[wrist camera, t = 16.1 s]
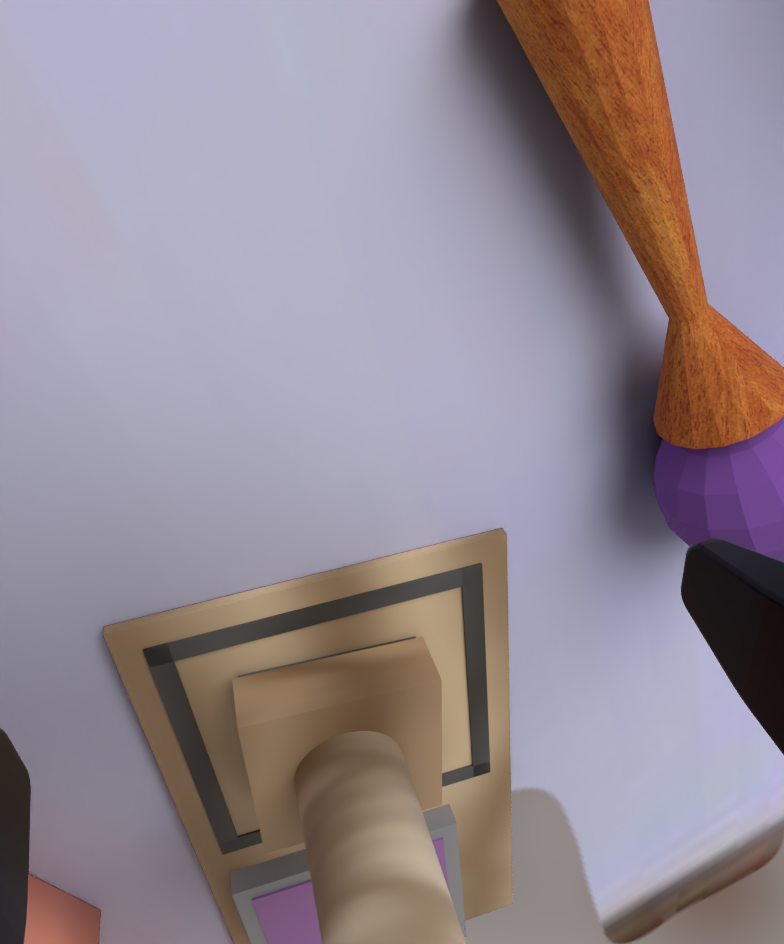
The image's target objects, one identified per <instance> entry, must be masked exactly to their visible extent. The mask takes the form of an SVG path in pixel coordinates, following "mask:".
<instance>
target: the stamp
mask: <svg viewBox="0 0 784 944" xmlns="http://www.w3.org/2000/svg"><path fill="white" fill-rule="evenodd" d="M232 682H233V692H234V701H235V711H236V721H237V729H238V734H239V738H240V743H241V747H242V752H243V756H244V761H245V765H246V770H247V774H248V779H249V783H250V788H251V793H252V797H253V802H254V806H255V811H256V815H257V820H258V824H259V829H260V833H261V838H262V842H263V847H264V851H265V853H269V852H273V851H276V850H280V849H284V848H287V847H291V846H294V845H298V844H302V843H305V847H306V853H307V859H308V865H309V870H310V876H311V882H312V888H313V893H314V899H315V905H316V911H317V916H318V922H319V928H320V934H321V939H322V944H466V941H465V938H464V935H463V932H462V929H461V926H460V923H459V920H458V917H457V914H456V911H455V908H454V905H453V902H452V899H451V896H450V893H449V890H448V887H447V884H446V881H445V878H444V875H443V872H442V869H441V866H440V863H439V860H438V857H437V854H436V851H435V848H434V845H433V842H432V839H431V836H430V833H429V830H428V827H427V824H426V821H425V818H424V815H423V812H422V810H426V809H429V808H433V807H437V806H440V805H442V680H441V677H440V675H439V673H438V670H437V668H436V666H435V663H434V661H433V659H432V657H431V654H430V652H429V650H428V647H427V645H426V643H425V641H424V638H423V637H419V638H416V636H414V637H410V638H405V639H401V640H396V641H392V642H387V643H383V644H378V645H374V646H369V647H365V648H360V649H356V650H351V651H347V652H342V653H338V654H333V655H329V656H324V657H320V658H315V659H311V660H306V661H302V662H297V663H293V664H288V665H284V666H279V667H274V668H270V669H265V670H261V671H256V672H252V673H247V674H243V675H238V678H234V679H232Z"/></svg>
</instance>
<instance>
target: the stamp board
mask: <svg viewBox="0 0 784 944" xmlns="http://www.w3.org/2000/svg"><path fill="white" fill-rule="evenodd" d="M103 636H104V639H105V641H106V644H107V646H108V648H109V651H110V653H111V655H112V658H113V660H114V662H115V665H116V667H117V669H118V672H119V674H120V676H121V679H122V681H123V683H124V686H125V688H126V691H127V693H128V695H129V698H130V700H131V702H132V705H133V707H134V709H135V712H136V714H137V716H138V719H139V721H140V723H141V726H142V728H143V731H144V733H145V735H146V738H147V740H148V742H149V745H150V747H151V749H152V752H153V754H154V756H155V759H156V761H157V763H158V766H159V768H160V771H161V773H162V775H163V778H164V780H165V782H166V785H167V787H168V789H169V792H170V794H171V796H172V799H173V801H174V803H175V806H176V808H177V810H178V813H179V815H180V818H181V820H182V822H183V825H184V827H185V829H186V832H187V834H188V836H189V839H190V841H191V843H192V846H193V848H194V850H195V853H196V855H197V858H198V860H199V862H200V865H201V867H202V869H203V872H204V874H205V876H206V879H207V881H208V883H209V886H210V888H211V890H212V893H213V895H214V898H215V900H216V902H217V905H218V907H219V909H220V912H221V914H222V916H223V919H224V921H225V923H226V926H227V928H228V930H229V933H230V935H231V937H232V940H233V942H234V944H251V941H250V939H249V936H248V934H247V931H246V929H245V926H244V924H243V921H242V919H241V916H240V914H239V911H238V909H237V906H236V904H235V901H234V899H233V896H232V889H231V876H230V872H233V871H236V870H239V869H243V868H246V867H249V866H252V865H255V864H259V863H262V862H265V861H268V860H271V859H274V858H278V857H281V856H284V855H287V854H290V853H294V852H297V851H300V850H303V849H306V847H305V843H302V844H298V845H294V846H291V847H287V848H284V849H280V850H276V851H273V852H269V853H265V851H264V847H263V842H262V838H261V833H260V829H259V824H258V820H257V815H256V811H255V806H254V802H253V797H252V793H251V788H250V783H249V779H248V774H247V770H246V765H245V761H244V756H243V752H242V747H241V743H240V738H239V734H238V729H237V721H236V711H235V701H234V692H233V682H232V679H234V678H238V675H243V674H247V673H252V672H256V671H261V670H265V669H270V668H274V667H279V666H284V665H288V664H293V663H297V662H302V661H306V660H311V659H315V658H320V657H324V656H329V655H333V654H338V653H342V652H347V651H351V650H356V649H360V648H365V647H369V646H374V645H378V644H383V643H387V642H392V641H396V640H401V639H405V638H410V637H414V636H416V638H419V637H423V638H424V641H425V643H426V645H427V647H428V650H429V652H430V654H431V657H432V659H433V661H434V663H435V666H436V668H437V670H438V673H439V675H440V677H441V680H442V805H440V806H443V805H446V804H450V807H451V809H452V812H453V815H454V817H455V820H456V823H457V833H458V844H459V856H460V868H461V880H462V892H463V904H464V916H465V920H468V919H471V918H474V917H477V916H479V915H482V914H485V913H488V912H491V911H494V910H497V909H499V908H503V907H505V906H508V905H511V904H513V900H512V843H511V841H512V840H511V839H512V836H511V773H510V710H509V647H508V585H507V534H506V532H505V531H504V530H503V528H500V529H496V530H492V531H488V532H484V533H480V534H476V535H472V536H468V537H464V538H460V539H456V540H452V541H448V542H444V543H440V544H436V545H432V546H428V547H424V548H419V549H415V550H411V551H407V552H403V553H399V554H395V555H391V556H387V557H383V558H379V559H375V560H371V561H367V562H363V563H359V564H355V565H351V566H347V567H343V568H339V569H335V570H331V571H327V572H322V573H318V574H314V575H310V576H306V577H302V578H298V579H294V580H290V581H286V582H282V583H278V584H274V585H270V586H266V587H262V588H258V589H254V590H250V591H246V592H242V593H238V594H234V595H230V596H226V597H221V598H217V599H213V600H209V601H205V602H201V603H197V604H193V605H189V606H185V607H181V608H177V609H173V610H169V611H165V612H161V613H157V614H153V615H149V616H145V617H141V618H137V619H133V620H129V621H124V622H120V623H116V624H112V625H108V626H104V629H103ZM440 806H437V807H440ZM437 807H433V808H429V809H426V810H422V812H424V811H427V810H430V809H434V808H437Z"/></svg>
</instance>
